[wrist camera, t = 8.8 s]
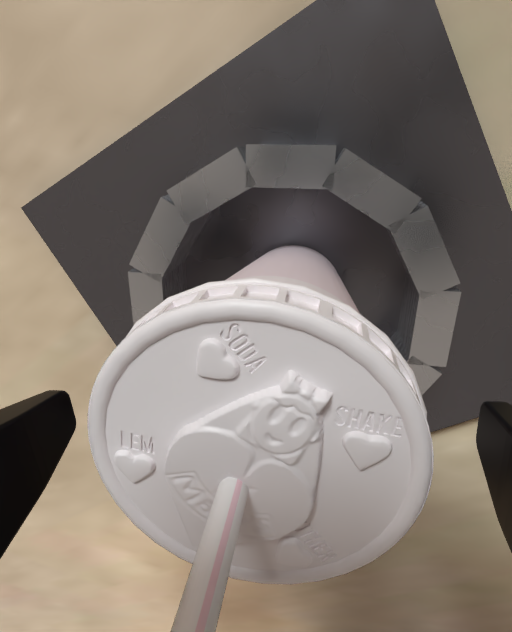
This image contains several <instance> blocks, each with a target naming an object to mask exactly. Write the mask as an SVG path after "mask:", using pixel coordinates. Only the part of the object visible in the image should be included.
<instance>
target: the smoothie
mask: <svg viewBox="0 0 512 632" xmlns="http://www.w3.org/2000/svg"><path fill="white" fill-rule="evenodd" d="M88 435H89V443H90V447H91V452H92V456H93V459H94V462H95V465H96V468H97V470H98V472H99V474H100V477H101V479H102V481H103V483H104V484H105V486H106V488H107V490H108V491H109V493H110V494H111V496H112V498H113V499H114V501H115V503H116V504H117V505H118V506H119V507H120V509H121V510H122V511H123V512H124V513H125V514H126V516H127V517H128V518H129V519H130V520H131V521H132V523H133V524H134V525H136V526H137V527H138V528H139V529H140V530H141V531H143V532H144V533H145V534H146V535H147V536H148V537H150V538H151V539H152V540H153V541H154V542H155V543H157V544H158V545H160V546H162V547H163V548H165V549H166V550H168V551H169V552H171V553H173V554H174V555H176V556H177V557H179V558H181V559H183V560H185V561H187V562H189V563H192V564H193V565H192V568H191V571H190V574H189V577H188V580H187V583H186V586H185V589H184V592H183V595H182V598H181V601H180V604H179V608H178V611H177V614H176V617H175V620H174V623H173V626H172V629H171V632H215V631H216V627H217V622H218V618H219V614H220V610H221V606H222V601H223V597H224V593H225V589H226V584H227V580H228V577H230V578H233V579H239V580H245V581H251V582H256V583H265V584H298V583H307V582H316V581H322V580H325V579H329V578H333V577H336V576H340V575H343V574H347V573H349V572H351V571H353V570H355V569H358V568H360V567H362V566H364V565H366V564H368V563H370V562H372V561H374V560H375V559H377V558H378V557H380V556H381V555H383V554H384V553H386V552H387V551H388V550H389V549H390V548H392V547H393V546H394V545H395V544H396V543H397V542H398V541H399V540H400V539H401V538H402V537H403V536H404V535H405V534H406V533H407V532H408V530H409V529H410V528H411V526H412V525H413V524H414V522H415V521H416V519H417V517H418V516H419V514H420V512H421V511H422V508H423V506H424V504H425V502H426V499H427V496H428V493H429V489H430V486H431V481H432V475H433V458H434V455H433V445H432V438H431V434H430V430H429V425H428V422H427V410H426V407H425V404H424V401H423V398H422V395H421V392H420V389H419V386H418V383H417V380H416V377H415V374H414V372H413V370H412V369H411V368H410V366H409V365H408V363H407V362H406V361H405V359H404V358H403V357H402V355H401V354H400V352H399V351H398V350H397V348H396V347H395V345H394V344H393V343H392V341H391V340H390V339H389V337H388V336H387V335H386V334H385V333H384V332H382V331H381V330H380V329H379V328H377V327H376V326H375V325H373V324H372V323H371V322H370V321H368V320H367V319H366V318H365V317H363V316H362V315H361V314H360V313H359V311H358V309H357V307H356V305H355V304H354V302H353V300H352V298H351V296H350V295H349V293H348V291H347V289H346V287H345V286H344V284H343V282H342V280H341V278H340V277H339V275H338V273H337V271H336V269H335V268H334V266H333V265H332V264H331V262H330V261H329V260H328V259H327V258H326V257H324V256H323V255H322V254H320V253H319V252H317V251H315V250H313V249H311V248H308V247H304V246H297V245H289V246H282V247H278V248H275V249H273V250H271V251H269V252H267V253H266V254H264V255H263V256H261V257H260V258H258V259H257V260H255V261H254V262H252V263H251V264H249V265H248V266H246V267H245V268H243V269H242V270H240V271H238V272H237V273H235V274H234V275H232V276H231V277H229V278H228V279H226V280H225V281H216V282H208V283H205V284H202V285H200V286H197V287H195V288H192V289H189V290H187V291H184V292H181V293H179V294H176V295H173V296H171V297H168V298H167V299H165V300H164V301H163V302H161V303H160V304H159V305H158V306H156V307H155V308H154V309H152V310H151V311H150V312H148V313H147V314H146V315H145V316H143V317H142V318H141V319H139V320H138V321H137V322H136V323H135V324H134V326H133V327H132V329H131V330H130V332H129V333H128V335H127V336H126V338H124V339H123V340H122V341H121V343H120V344H119V345H118V346H117V347H116V348H115V349H114V350H113V351H112V353H111V354H110V356H109V357H108V358H107V360H106V361H105V363H104V364H103V366H102V368H101V370H100V372H99V374H98V376H97V378H96V381H95V383H94V386H93V389H92V393H91V397H90V401H89V408H88Z"/></svg>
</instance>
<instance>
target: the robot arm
mask: <svg viewBox="0 0 512 632" xmlns="http://www.w3.org/2000/svg"><path fill="white" fill-rule="evenodd" d="M75 428H76V418H75V415H74V411H73V407H72V404H71V400H70V397H69V395H68V393H67V392H65V391H58V390H49V391H46V392H43V393H41V394H38V395H36V396H33V397H30V398H28V399H25V400H23V401H20V402H18V403H15V404H13V405H10V406H8V407H5V408H3V409H0V559H1V557H2V556H3V554H4V552H5V551H6V549H7V548H8V546H9V545H10V543H11V541H12V540H13V538H14V537H15V535H16V534H17V532H18V530H19V529H20V527H21V526H22V524H23V523H24V521H25V519H26V518H27V516H28V515H29V513H30V512H31V510H32V508H33V507H34V505H35V504H36V502H37V501H38V499H39V497H40V496H41V494H42V492H43V491H44V489H45V487H46V486H47V484H48V482H49V480H50V478H51V476H52V474H53V472H54V470H55V468H56V466H57V465H58V463H59V461H60V459H61V457H62V455H63V453H64V451H65V449H66V447H67V445H68V443H69V441H70V439H71V437H72V435H73V433H74V431H75ZM476 443H477V449H478V452H479V456H480V459H481V463H482V466H483V470H484V473H485V477H486V480H487V484H488V487H489V491H490V494H491V498H492V501H493V505H494V508H495V511H496V514H497V518H498V521H499V523H500V526H501V528H502V531H503V533H504V536H505V538H506V541H507V543H508V545H509V548H510V550H511V552H512V405H511V404H509V403H507V402H502V401H485V402H483V403H482V405H481V407H480V413H479V420H478V427H477V434H476Z"/></svg>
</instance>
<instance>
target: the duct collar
mask: <svg viewBox="0 0 512 632" xmlns="http://www.w3.org/2000/svg"><path fill="white" fill-rule="evenodd" d="M22 210H23V211H24V213H25V214H26V215H27V217H28V218H29V220H30V221H31V223H32V224H33V226H34V227H35V228H36V230H37V231H38V233H39V234H40V236H41V237H42V239H43V240H44V241H45V243H46V244H47V246H48V247H49V249H50V250H51V252H52V253H53V254H54V256H55V257H56V259H57V260H58V262H59V263H60V265H61V266H62V267H63V269H64V270H65V272H66V273H67V275H68V276H69V278H70V279H71V281H72V282H73V283H74V285H75V286H76V288H77V289H78V291H79V292H80V294H81V295H82V296H83V298H84V299H85V301H86V302H87V304H88V305H89V307H90V308H91V309H92V311H93V312H94V314H95V315H96V317H97V318H98V320H99V321H100V322H101V324H102V325H103V327H104V328H105V330H106V331H107V333H108V334H109V335H110V337H111V338H112V340H113V341H114V343H115V344H116V346H118V345H119V344H120V343H121V341H122V340H123V339H124V338H126V336H127V335H128V333H129V332H130V330H131V329H132V327H133V326H134V324H135V323H136V322H137V321H138V320H139V319H141V318H142V317H143V316H145V315H146V314H147V313H148V312H150V311H151V310H152V309H154V308H155V307H156V306H158V305H159V304H160V303H161V302H163V301H164V300H165V299H167V298H168V297H171V296H173V295H176V294H179V293H181V292H184V291H187V290H189V289H192V288H195V287H197V286H200V285H202V284H205V283H208V282H216V281H225V280H226V279H228V278H229V277H231V276H232V275H234V274H235V273H237V272H238V271H240V270H242V269H243V268H245V267H246V266H248V265H249V264H251V263H252V262H254V261H255V260H257V259H258V258H260V257H261V256H263V255H264V254H266V253H267V252H269V251H271V250H273V249H275V248H278V247H282V246H289V245H297V246H304V247H308V248H311V249H313V250H315V251H317V252H319V253H320V254H322V255H323V256H324V257H326V258H327V259H328V260H329V261H330V262H331V264H332V265H333V266H334V268H335V269H336V271H337V273H338V275H339V277H340V278H341V280H342V282H343V284H344V286H345V287H346V289H347V291H348V293H349V295H350V296H351V298H352V300H353V302H354V304H355V305H356V307H357V309H358V311H359V313H360V314H361V315H362V316H363V317H365V318H366V319H367V320H368V321H370V322H371V323H372V324H373V325H375V326H376V327H377V328H379V329H380V330H381V331H382V332H384V333H385V334H386V335H387V336H388V337H389V339H390V340H391V341H392V343H393V344H394V345H395V347H396V348H397V350H398V351H399V352H400V354H401V355H402V357H403V358H404V359H405V361H406V362H407V363H408V365H409V366H410V368H411V369H412V370H413V372H414V374H415V377H416V380H417V383H418V386H419V389H420V392H421V395H422V398H423V401H424V404H425V407H426V410H427V422H428V425H429V430H430V432H433V431H436V430H439V429H442V428H446V427H449V426H452V425H455V424H458V423H461V422H465V421H468V420H471V419H474V418H477V417H479V413H480V407H481V405H482V403H483V402H485V401H502V402H507V403H509V404H511V405H512V211H511V208H510V205H509V203H508V200H507V197H506V194H505V192H504V189H503V186H502V184H501V181H500V178H499V175H498V173H497V170H496V167H495V164H494V162H493V159H492V156H491V153H490V151H489V148H488V145H487V143H486V140H485V137H484V134H483V132H482V129H481V126H480V123H479V121H478V118H477V115H476V112H475V110H474V107H473V104H472V102H471V99H470V96H469V93H468V91H467V88H466V85H465V82H464V80H463V77H462V74H461V72H460V69H459V66H458V63H457V61H456V58H455V55H454V52H453V50H452V47H451V44H450V41H449V39H448V36H447V33H446V31H445V28H444V25H443V22H442V20H441V17H440V14H439V11H438V9H437V6H436V3H435V0H316V1H315V2H313V3H312V4H311V5H309V6H308V7H306V8H305V9H303V10H302V11H301V12H299V13H298V14H296V15H295V16H293V17H292V18H291V19H289V20H288V21H286V22H285V23H283V24H282V25H281V26H279V27H278V28H276V29H275V30H274V31H272V32H271V33H269V34H268V35H266V36H265V37H264V38H262V39H261V40H259V41H258V42H256V43H255V44H254V45H252V46H251V47H249V48H248V49H246V50H245V51H244V52H242V53H241V54H239V55H238V56H236V57H235V58H234V59H232V60H231V61H229V62H228V63H227V64H225V65H224V66H222V67H221V68H219V69H218V70H217V71H215V72H214V73H212V74H211V75H209V76H208V77H207V78H205V79H204V80H202V81H201V82H199V83H198V84H197V85H195V86H194V87H192V88H191V89H190V90H188V91H187V92H185V93H184V94H182V95H181V96H180V97H178V98H177V99H175V100H174V101H172V102H171V103H170V104H168V105H167V106H165V107H164V108H162V109H161V110H160V111H158V112H157V113H155V114H154V115H153V116H151V117H150V118H148V119H147V120H145V121H144V122H143V123H141V124H140V125H138V126H137V127H135V128H134V129H133V130H131V131H130V132H128V133H127V134H125V135H124V136H123V137H121V138H120V139H118V140H117V141H115V142H114V143H113V144H111V145H110V146H108V147H107V148H106V149H104V150H103V151H101V152H100V153H98V154H97V155H96V156H94V157H93V158H91V159H90V160H88V161H87V162H86V163H84V164H83V165H81V166H80V167H78V168H77V169H76V170H74V171H73V172H71V173H70V174H69V175H67V176H66V177H64V178H63V179H61V180H60V181H59V182H57V183H56V184H54V185H53V186H51V187H50V188H49V189H47V190H46V191H44V192H43V193H41V194H40V195H39V196H37V197H36V198H34V199H33V200H32V201H30V202H29V203H27V204H26V205H24V206H23V207H22Z"/></svg>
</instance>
